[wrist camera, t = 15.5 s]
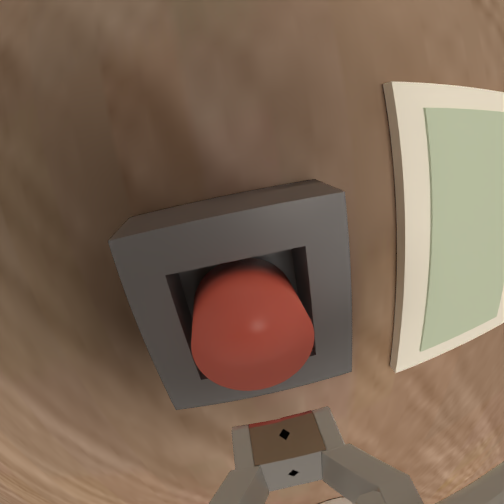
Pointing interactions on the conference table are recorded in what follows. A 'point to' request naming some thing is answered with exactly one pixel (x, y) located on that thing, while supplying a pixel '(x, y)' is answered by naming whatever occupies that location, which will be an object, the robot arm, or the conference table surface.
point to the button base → (231, 249)
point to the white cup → (338, 501)
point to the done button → (249, 326)
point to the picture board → (446, 216)
